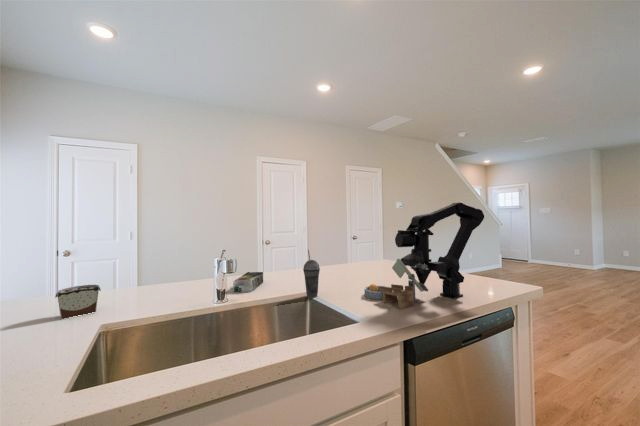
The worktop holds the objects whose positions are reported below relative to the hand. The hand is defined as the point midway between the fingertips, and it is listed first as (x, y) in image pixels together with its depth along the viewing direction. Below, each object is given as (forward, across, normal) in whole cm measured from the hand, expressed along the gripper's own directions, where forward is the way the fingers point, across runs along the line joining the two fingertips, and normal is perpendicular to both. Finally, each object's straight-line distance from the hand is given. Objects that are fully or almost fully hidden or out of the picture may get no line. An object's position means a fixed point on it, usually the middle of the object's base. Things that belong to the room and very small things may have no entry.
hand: (422, 285), depth 107 cm
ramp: (+6, -1, -13) cm, 14 cm away
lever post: (+6, 0, -6) cm, 8 cm away
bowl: (+6, -12, -13) cm, 18 cm away
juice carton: (+7, -58, -57) cm, 82 cm away
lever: (-1, 0, -9) cm, 9 cm away
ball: (+3, -14, -13) cm, 20 cm away
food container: (+7, -53, -121) cm, 132 cm away
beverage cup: (+6, -27, -37) cm, 46 cm away
